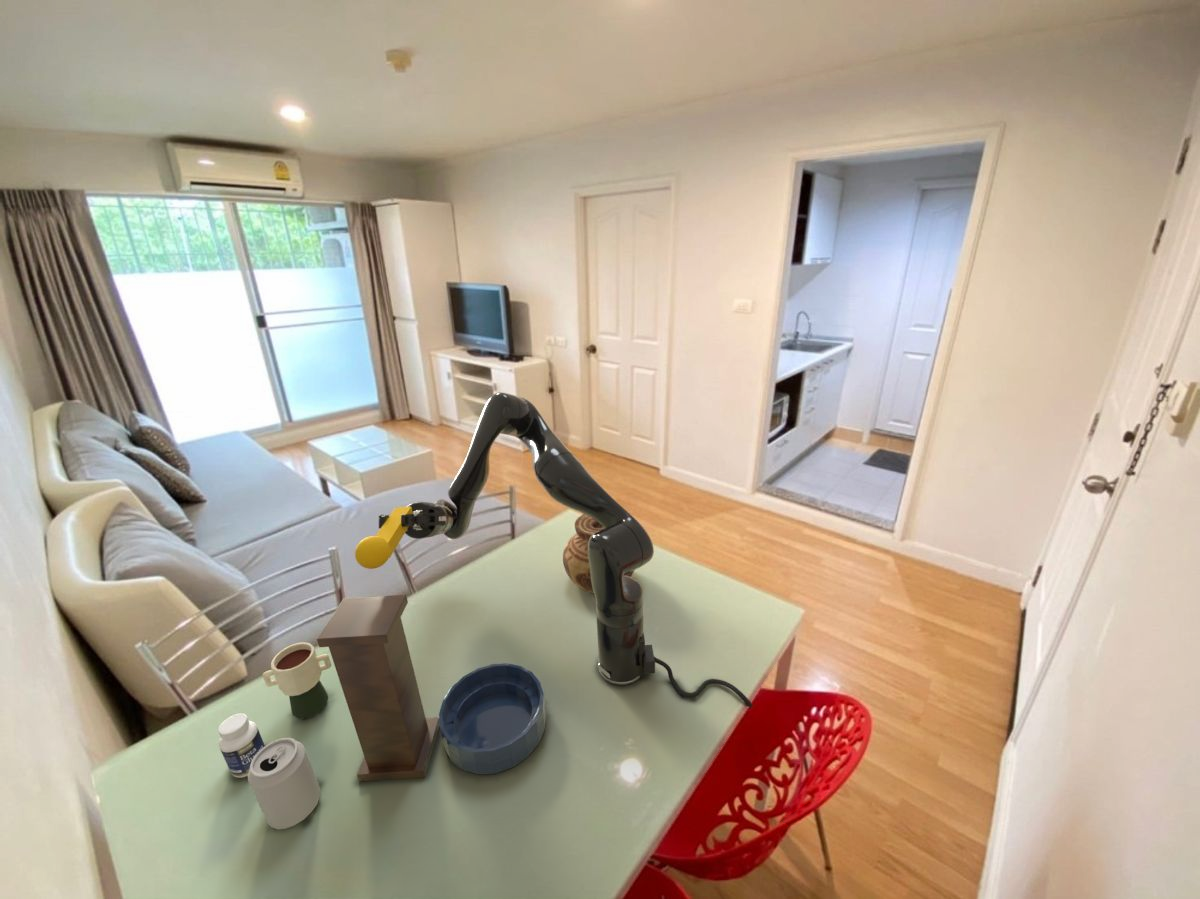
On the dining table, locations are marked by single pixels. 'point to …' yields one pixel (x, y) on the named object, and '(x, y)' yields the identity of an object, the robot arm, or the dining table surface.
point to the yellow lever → (382, 541)
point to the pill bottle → (239, 743)
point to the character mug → (300, 678)
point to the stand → (380, 687)
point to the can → (284, 783)
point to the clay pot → (581, 552)
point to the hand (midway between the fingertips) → (393, 521)
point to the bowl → (492, 718)
